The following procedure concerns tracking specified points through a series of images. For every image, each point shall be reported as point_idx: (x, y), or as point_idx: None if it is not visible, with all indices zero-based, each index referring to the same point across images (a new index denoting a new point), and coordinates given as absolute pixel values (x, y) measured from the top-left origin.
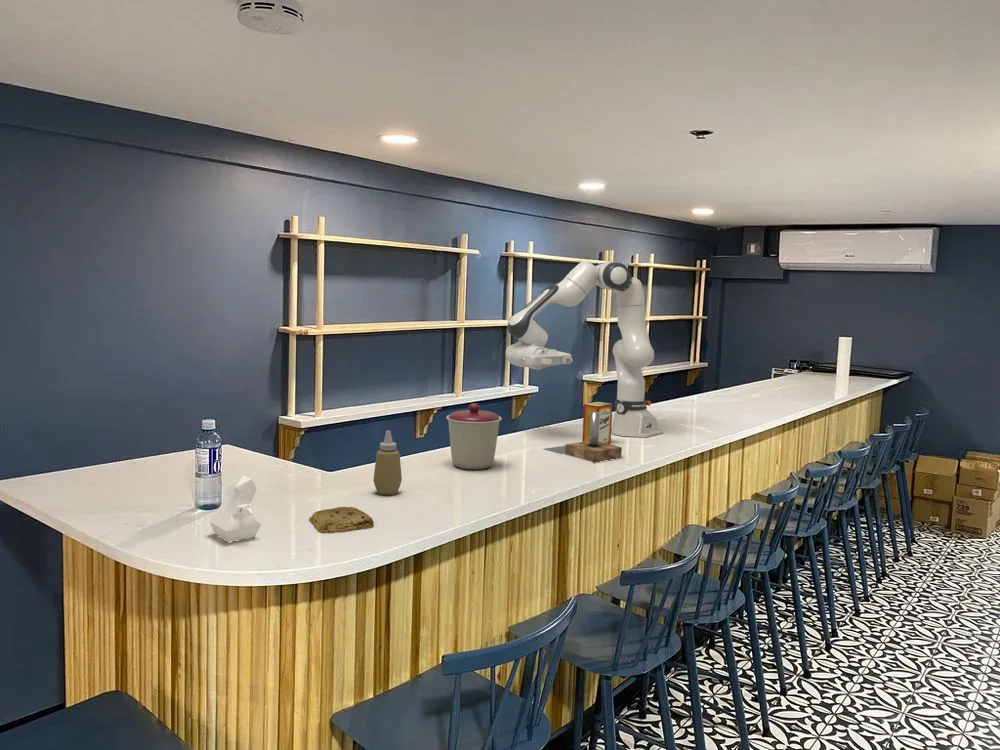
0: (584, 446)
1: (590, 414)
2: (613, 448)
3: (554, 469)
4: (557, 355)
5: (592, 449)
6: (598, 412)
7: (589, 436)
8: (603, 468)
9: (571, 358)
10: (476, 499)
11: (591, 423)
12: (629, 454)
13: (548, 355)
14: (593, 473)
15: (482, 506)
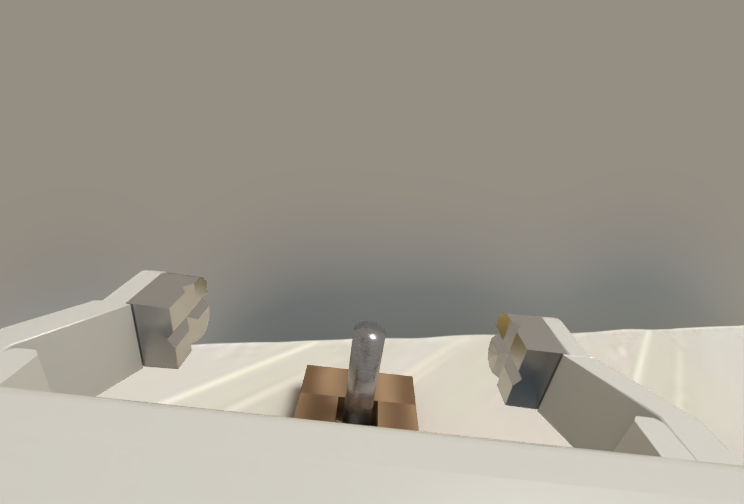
0: (388, 425)
1: (381, 345)
2: (338, 369)
3: (532, 415)
4: (174, 407)
5: (396, 391)
6: (360, 325)
7: (371, 402)
8: (419, 363)
9: (152, 271)
10: (732, 371)
11: (380, 362)
12: (242, 399)
13: (504, 459)
14: (463, 355)
15: (716, 349)
